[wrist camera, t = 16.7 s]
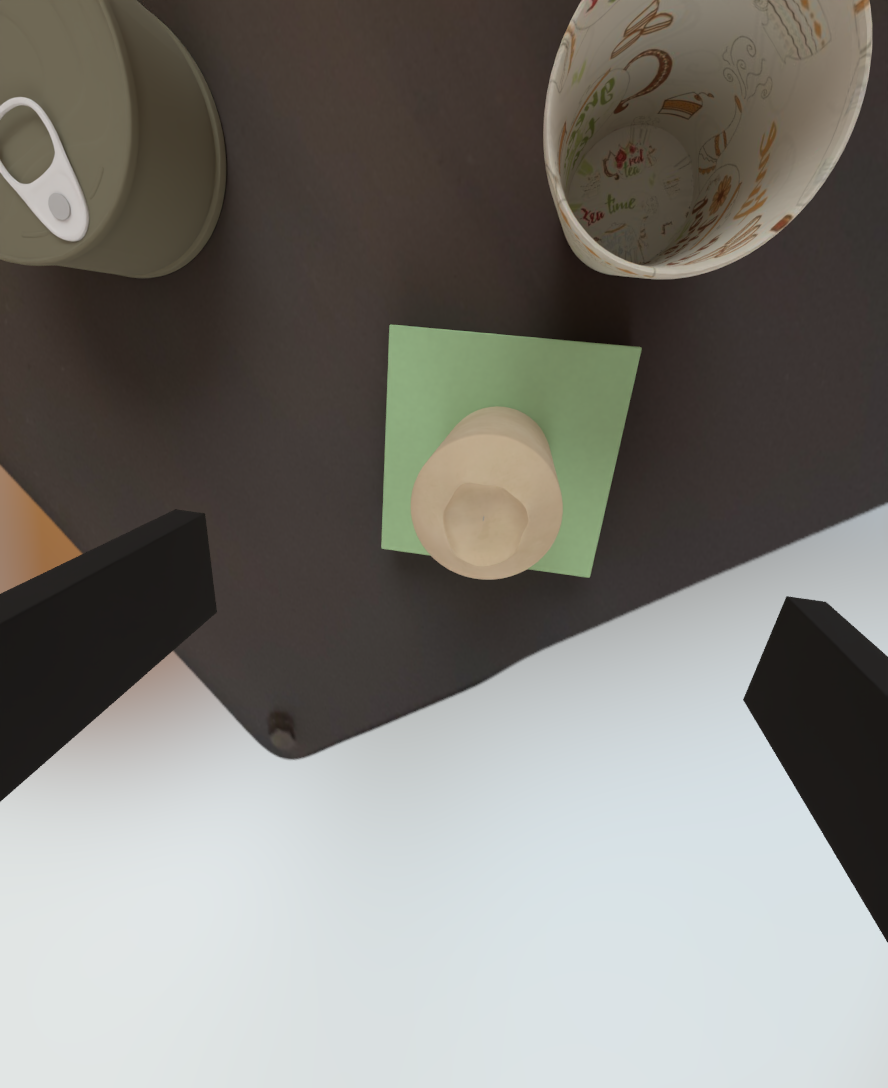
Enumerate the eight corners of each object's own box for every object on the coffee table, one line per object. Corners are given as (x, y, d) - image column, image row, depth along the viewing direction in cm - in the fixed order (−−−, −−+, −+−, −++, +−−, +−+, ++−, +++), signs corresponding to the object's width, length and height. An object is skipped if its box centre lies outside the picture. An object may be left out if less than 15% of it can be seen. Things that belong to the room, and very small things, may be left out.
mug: (559, 327, 25) (580, 317, 16) (488, 24, 21) (460, -225, 12) (737, 263, 23) (881, 209, 14) (695, -88, 19) (859, -497, 10)
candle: (431, 422, 25) (379, 468, 16) (537, 391, 24) (545, 422, 15) (460, 520, 27) (428, 611, 18) (560, 496, 26) (581, 581, 16)
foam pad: (631, 346, 25) (642, 347, 22) (584, 560, 29) (589, 578, 27) (400, 325, 26) (388, 324, 24) (391, 533, 31) (380, 548, 28)
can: (131, -80, 21) (-34, -256, 15) (275, 209, 25) (190, 163, 18) (-35, 90, 25) (-224, 4, 19) (111, 322, 28) (-6, 317, 22)
